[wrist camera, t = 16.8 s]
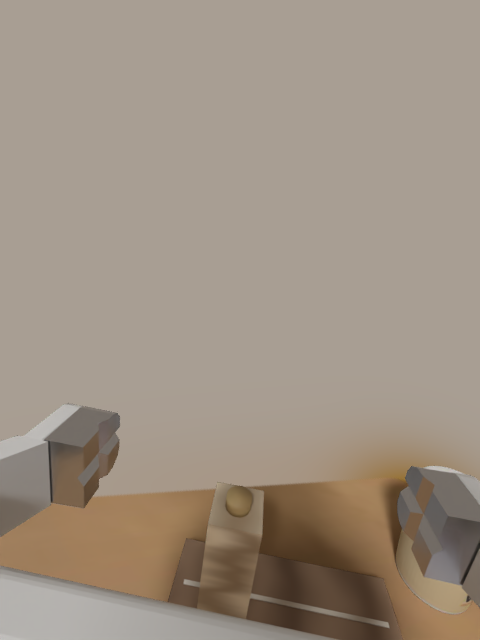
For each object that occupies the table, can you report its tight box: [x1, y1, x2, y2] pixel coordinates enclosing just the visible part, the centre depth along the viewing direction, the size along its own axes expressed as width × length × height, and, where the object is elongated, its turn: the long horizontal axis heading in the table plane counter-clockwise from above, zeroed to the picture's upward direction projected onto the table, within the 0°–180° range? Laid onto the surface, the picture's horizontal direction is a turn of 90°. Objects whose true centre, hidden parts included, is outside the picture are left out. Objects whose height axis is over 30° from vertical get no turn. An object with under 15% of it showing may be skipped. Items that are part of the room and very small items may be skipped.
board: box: [168, 538, 403, 640], centre depth 28 cm, size 22×14×4 cm, turn 84°
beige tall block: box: [197, 482, 264, 619], centre depth 26 cm, size 4×5×14 cm
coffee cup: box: [396, 466, 473, 614], centre depth 35 cm, size 9×9×12 cm
